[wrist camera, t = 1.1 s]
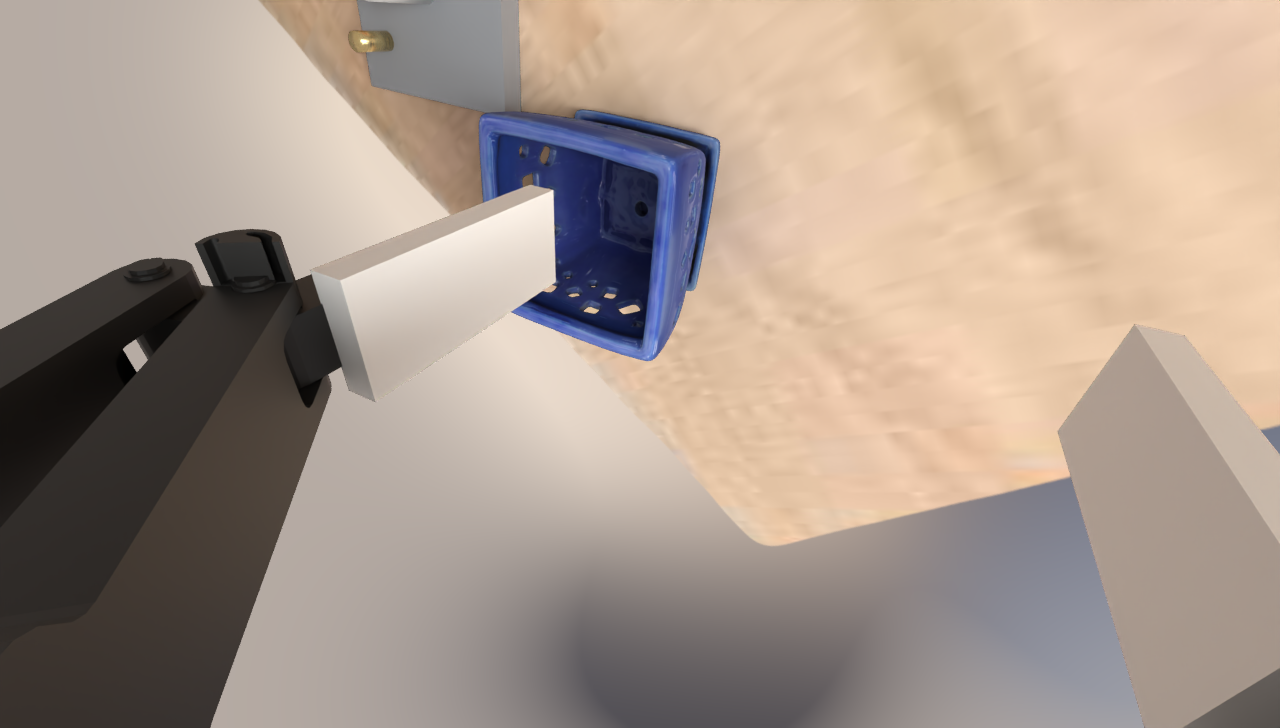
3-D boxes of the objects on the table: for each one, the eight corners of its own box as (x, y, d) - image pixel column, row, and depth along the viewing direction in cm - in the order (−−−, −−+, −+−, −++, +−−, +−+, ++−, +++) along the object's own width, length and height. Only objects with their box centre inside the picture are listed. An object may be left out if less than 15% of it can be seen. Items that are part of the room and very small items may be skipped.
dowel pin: (379, 29, 41) (346, 29, 39) (392, 31, 41) (360, 32, 38) (382, 49, 42) (350, 50, 40) (395, 52, 42) (364, 53, 39)
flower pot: (574, 256, 46) (487, 311, 37) (578, 91, 39) (469, 109, 30) (714, 297, 42) (653, 370, 33) (748, 122, 35) (682, 154, 26)
